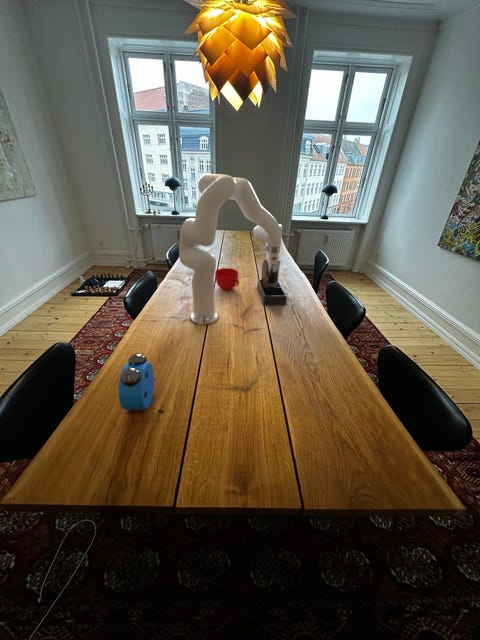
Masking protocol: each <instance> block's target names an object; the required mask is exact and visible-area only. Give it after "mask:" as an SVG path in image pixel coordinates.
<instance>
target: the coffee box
mask: <svg viewBox="0 0 480 640" xmlns="http://www.w3.org/2000/svg"><path fill="white" fill-rule="evenodd" d="M280 266H281V260H278V271H277V272H276V271H275V281H274V283H268V281H269V276H270V272H269V271H268V262H267V260H266V259H263V261H262V263H261V276H260V277H261V278H260V279H261V286H262V287H277V286H278V281H279V275H280V268H281V267H280ZM271 271H272V269H271ZM271 273H272V272H271Z"/></svg>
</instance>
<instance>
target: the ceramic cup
mask: <svg viewBox="0 0 480 640" xmlns="http://www.w3.org/2000/svg"><path fill="white" fill-rule="evenodd" d="M214 278H215V281H216V284H217V286H218V287H219V289H220V290H222V291H231V290H233V289H234V288H235V287H238V286H239V285H240V280H239V271H238V270H237V269H235V268H228V267H223V268H218V269H215V273H214Z"/></svg>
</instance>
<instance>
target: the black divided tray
mask: <svg viewBox="0 0 480 640" xmlns="http://www.w3.org/2000/svg"><path fill="white" fill-rule="evenodd" d="M256 288H257V290H258V293H259V296H260V299H261V302H262V304H263V306H285V305H287V300H288V295H287V294H286V292H285V290H284V289H283V286H282V285H281V283H280V281H279V280H278V286H277V287H262V286H261V278H260V279H259V278H257V285H256Z"/></svg>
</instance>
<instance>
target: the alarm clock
mask: <svg viewBox="0 0 480 640" xmlns="http://www.w3.org/2000/svg"><path fill="white" fill-rule="evenodd" d="M119 375H120V376H119V381H118V401H119V405H120V406H121V408H122V409H123V410H124V411H130V413H131V412H133V411H139V410H142V411H143V410H148V409H149V407H150V406H151V404H152V401H153V397H154V390H155V372H154V367H153V364H152V363H151V362H150V361H148V357H147V356H146V355H145V354H143V353H139V352H137V353H134V354H131V355H130V356H129V358H128V361H127V363H125V364H124V366H123V367H122V370H121V372H120V374H119Z"/></svg>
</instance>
